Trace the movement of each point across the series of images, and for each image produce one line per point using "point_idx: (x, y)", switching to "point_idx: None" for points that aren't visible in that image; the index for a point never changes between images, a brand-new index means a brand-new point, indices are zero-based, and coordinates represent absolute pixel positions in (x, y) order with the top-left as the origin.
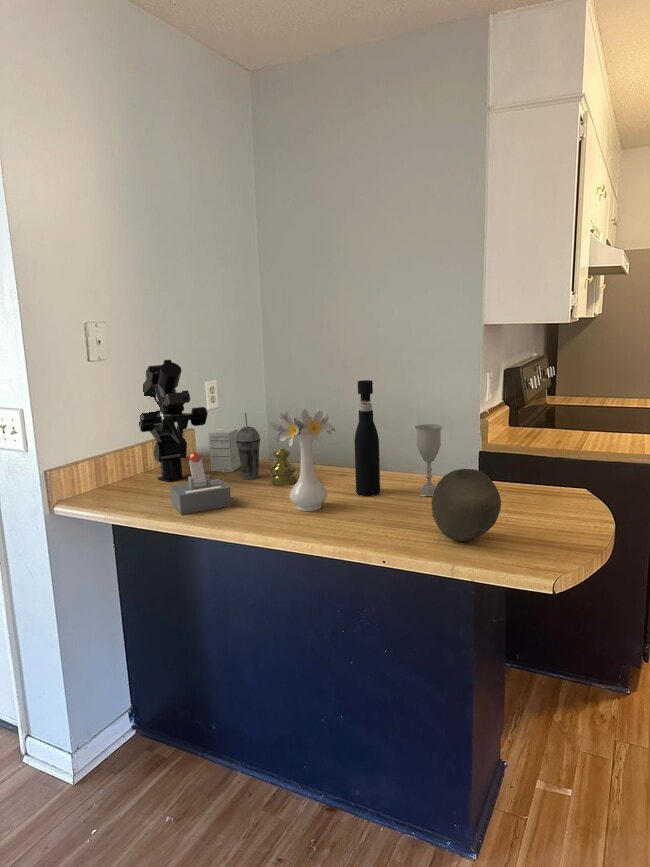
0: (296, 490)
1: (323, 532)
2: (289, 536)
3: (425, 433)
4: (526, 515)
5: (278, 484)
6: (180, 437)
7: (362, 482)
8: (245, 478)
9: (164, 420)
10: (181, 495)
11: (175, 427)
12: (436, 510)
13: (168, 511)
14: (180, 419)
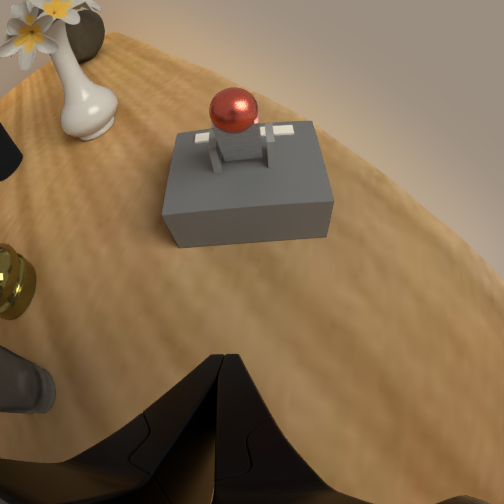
0: (107, 90)
1: (150, 68)
2: (186, 64)
3: None
4: (22, 92)
5: (33, 268)
6: (211, 371)
7: (12, 141)
8: (51, 381)
9: (463, 496)
10: (307, 121)
11: (223, 456)
12: (100, 28)
13: (337, 191)
14: (56, 489)
